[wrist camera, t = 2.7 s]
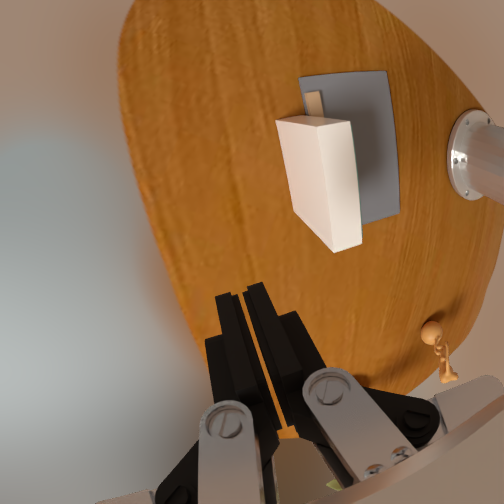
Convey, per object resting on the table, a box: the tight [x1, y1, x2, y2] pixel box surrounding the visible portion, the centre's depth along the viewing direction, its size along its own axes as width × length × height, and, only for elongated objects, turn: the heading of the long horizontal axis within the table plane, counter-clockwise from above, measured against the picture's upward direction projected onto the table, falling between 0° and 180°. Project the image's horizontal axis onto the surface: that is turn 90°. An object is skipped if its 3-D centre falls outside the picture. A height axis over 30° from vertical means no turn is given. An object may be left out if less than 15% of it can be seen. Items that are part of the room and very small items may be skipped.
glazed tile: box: [276, 115, 363, 253], centre depth 23 cm, size 3×9×9 cm, turn 13°
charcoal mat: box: [298, 71, 400, 225], centre depth 27 cm, size 10×16×1 cm, turn 13°
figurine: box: [421, 321, 458, 383], centre depth 38 cm, size 8×6×12 cm
